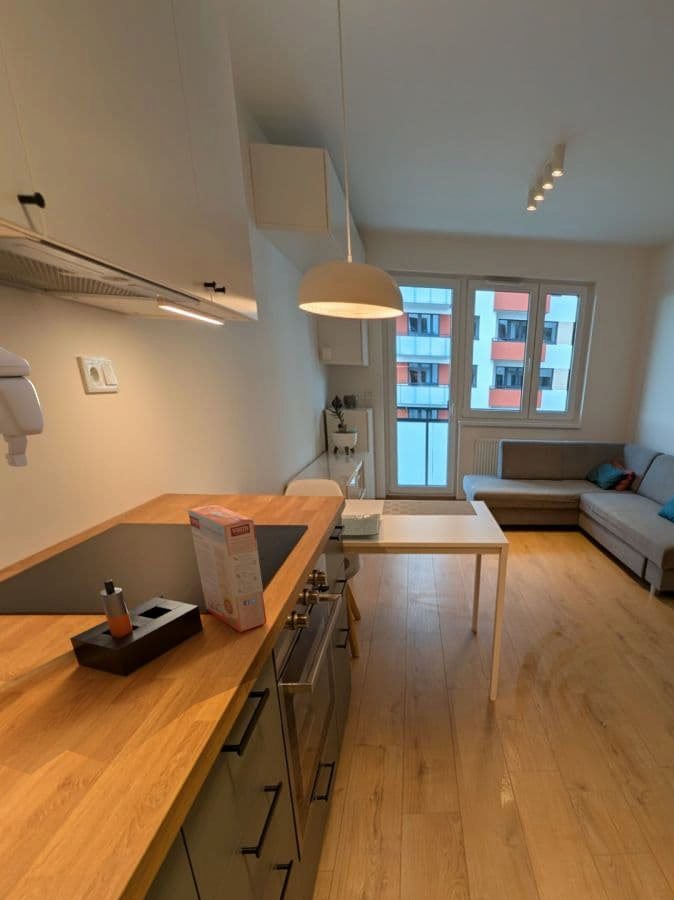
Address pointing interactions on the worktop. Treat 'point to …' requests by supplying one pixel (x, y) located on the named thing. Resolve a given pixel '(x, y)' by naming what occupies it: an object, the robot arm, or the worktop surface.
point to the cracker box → (228, 566)
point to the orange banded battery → (115, 610)
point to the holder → (138, 637)
